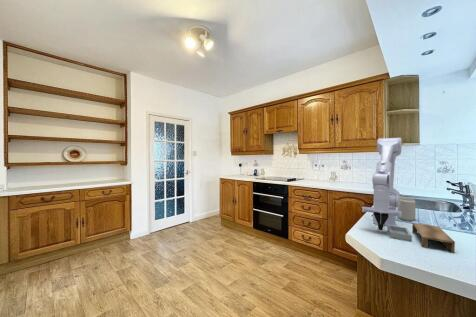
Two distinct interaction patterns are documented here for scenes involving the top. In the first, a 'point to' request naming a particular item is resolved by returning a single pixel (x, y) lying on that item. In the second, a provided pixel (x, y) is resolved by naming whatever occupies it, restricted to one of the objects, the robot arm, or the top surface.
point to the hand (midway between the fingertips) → (380, 229)
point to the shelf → (433, 235)
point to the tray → (399, 233)
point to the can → (407, 208)
